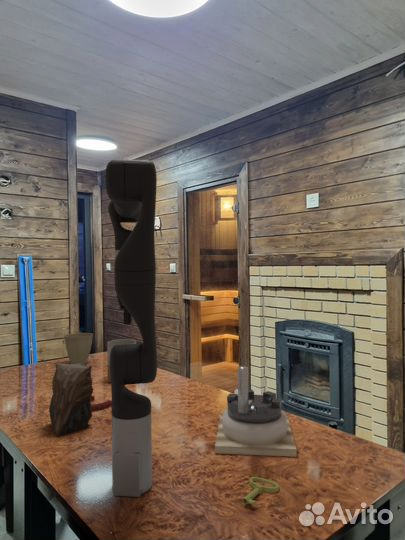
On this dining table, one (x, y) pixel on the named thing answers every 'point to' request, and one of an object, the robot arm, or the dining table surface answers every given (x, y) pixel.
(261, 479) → the key
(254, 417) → the cap with crank handle
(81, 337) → the plant pot
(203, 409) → the dining table surface
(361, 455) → the dining table surface
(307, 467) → the dining table surface
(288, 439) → the base board
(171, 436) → the dining table surface
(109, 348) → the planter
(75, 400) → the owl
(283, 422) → the cap housing
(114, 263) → the robot arm
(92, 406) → the pliers
